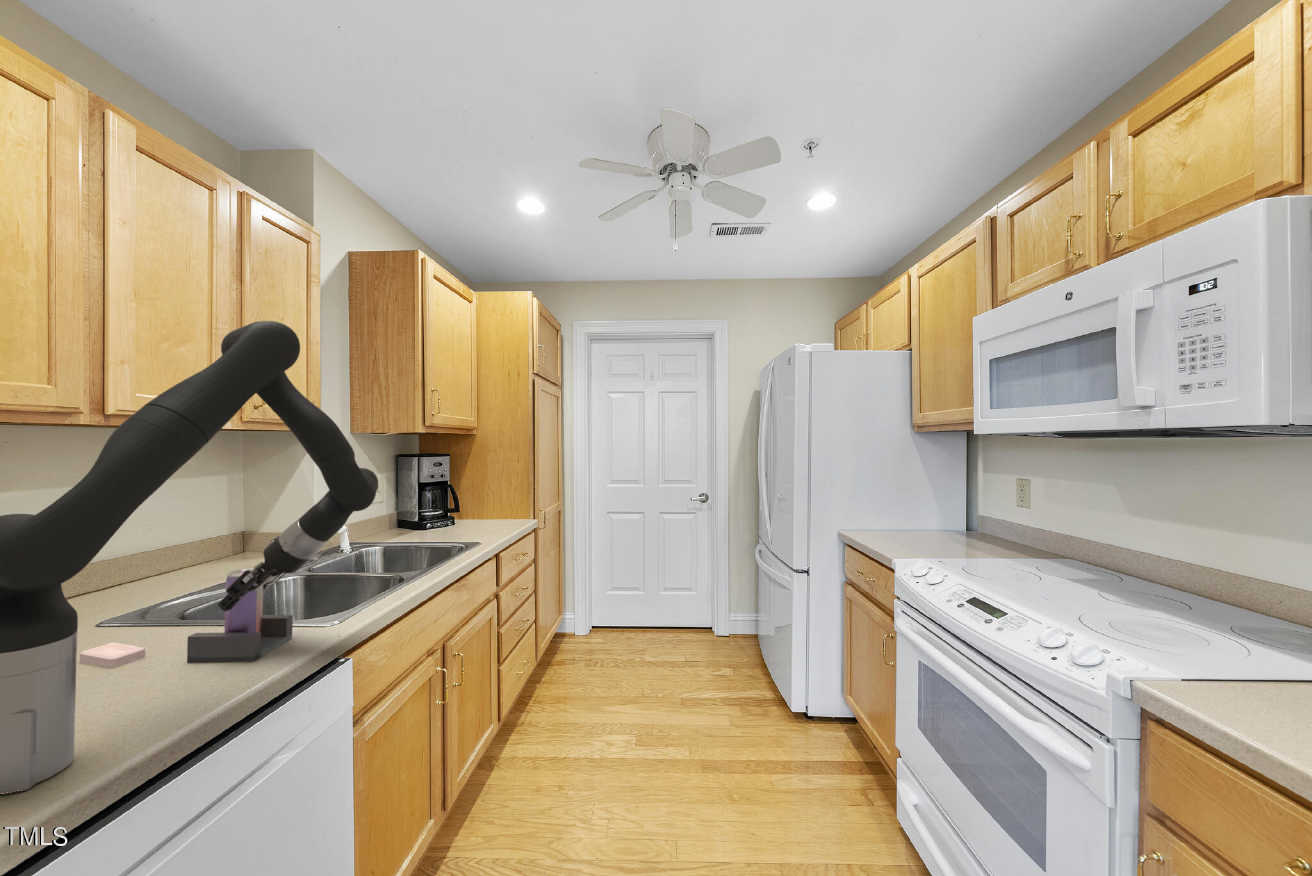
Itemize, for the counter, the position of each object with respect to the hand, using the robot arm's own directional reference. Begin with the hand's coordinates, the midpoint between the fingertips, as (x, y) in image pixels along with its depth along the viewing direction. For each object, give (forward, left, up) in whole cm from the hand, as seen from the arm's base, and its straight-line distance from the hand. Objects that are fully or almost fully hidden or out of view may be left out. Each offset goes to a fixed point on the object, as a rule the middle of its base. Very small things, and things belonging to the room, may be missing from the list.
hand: (235, 602), depth 105 cm
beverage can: (-1, -2, -9) cm, 9 cm away
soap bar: (+2, +20, -10) cm, 22 cm away
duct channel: (0, -2, -10) cm, 10 cm away
